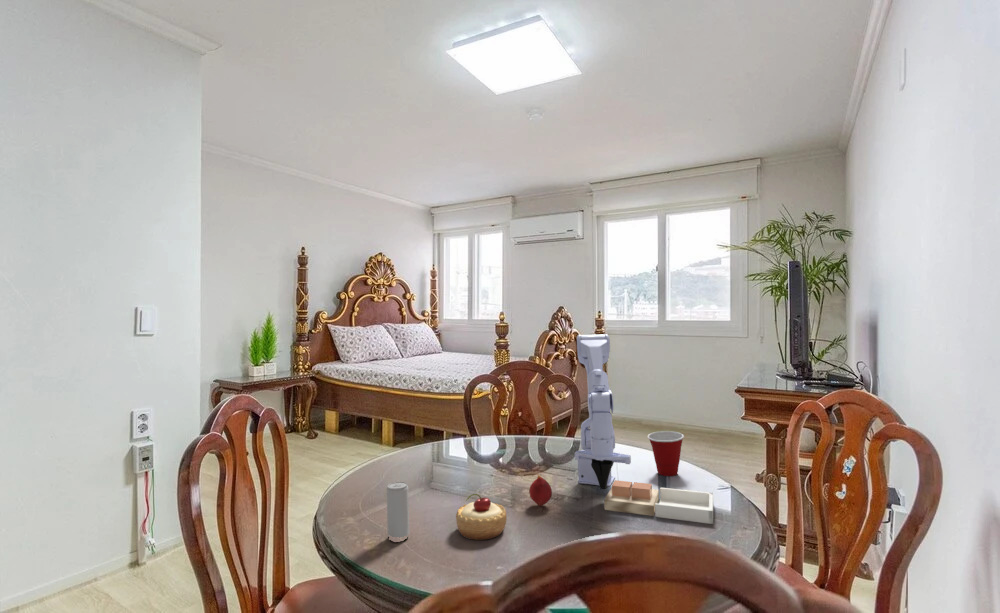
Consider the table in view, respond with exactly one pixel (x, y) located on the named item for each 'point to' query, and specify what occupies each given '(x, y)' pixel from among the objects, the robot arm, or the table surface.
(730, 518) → the table surface
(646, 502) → the board
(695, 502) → the tray
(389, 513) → the beverage can
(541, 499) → the onion
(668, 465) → the plastic cup
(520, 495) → the table surface
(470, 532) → the pastry
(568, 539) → the table surface
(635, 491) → the tile
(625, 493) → the tile
